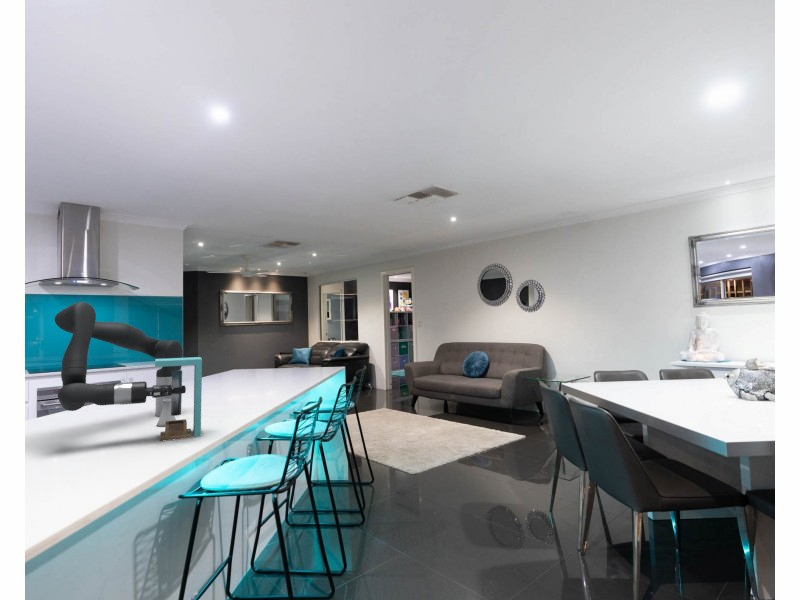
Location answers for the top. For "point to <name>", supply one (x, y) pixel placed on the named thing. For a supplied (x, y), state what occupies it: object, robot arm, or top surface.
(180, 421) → the socket
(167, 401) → the flask
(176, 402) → the peg
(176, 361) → the teal angle bracket
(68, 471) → the top surface
